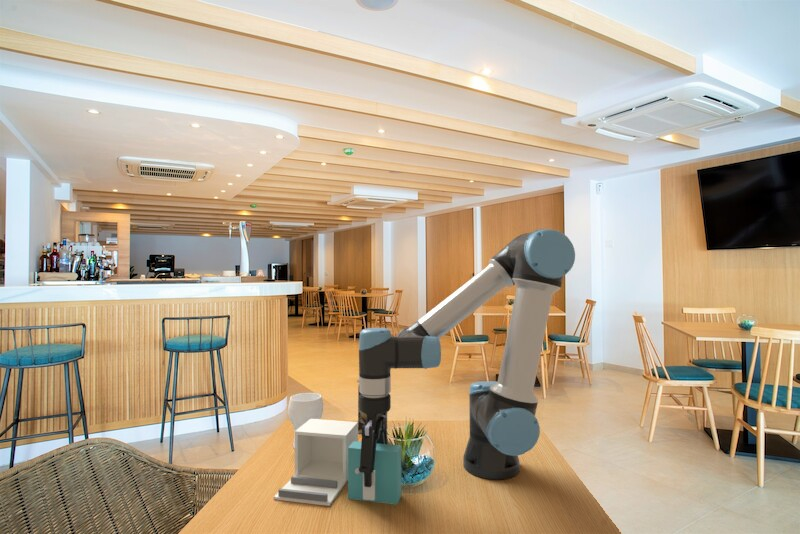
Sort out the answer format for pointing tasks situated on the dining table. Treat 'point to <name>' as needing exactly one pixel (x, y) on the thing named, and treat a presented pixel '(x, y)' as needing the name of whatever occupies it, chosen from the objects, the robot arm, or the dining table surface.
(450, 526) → the dining table surface
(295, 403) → the cup
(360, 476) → the door
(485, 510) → the dining table surface
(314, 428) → the cabinet
